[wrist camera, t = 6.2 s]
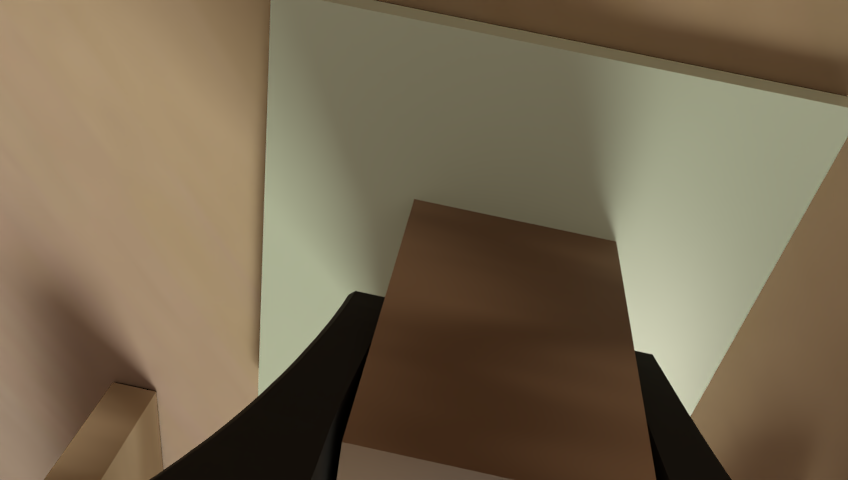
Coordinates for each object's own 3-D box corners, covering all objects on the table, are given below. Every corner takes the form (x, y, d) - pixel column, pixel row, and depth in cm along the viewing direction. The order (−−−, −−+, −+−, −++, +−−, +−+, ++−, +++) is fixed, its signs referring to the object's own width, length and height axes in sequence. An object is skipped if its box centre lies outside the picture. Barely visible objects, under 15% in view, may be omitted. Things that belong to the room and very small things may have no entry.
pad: (848, 96, 12) (862, 110, 11) (649, 463, 18) (652, 483, 17) (281, -19, 12) (271, -10, 12) (265, 379, 18) (257, 396, 17)
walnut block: (616, 241, 13) (661, 512, 8) (561, 384, 16) (570, 664, 11) (414, 198, 13) (342, 441, 9) (387, 347, 16) (318, 607, 11)
